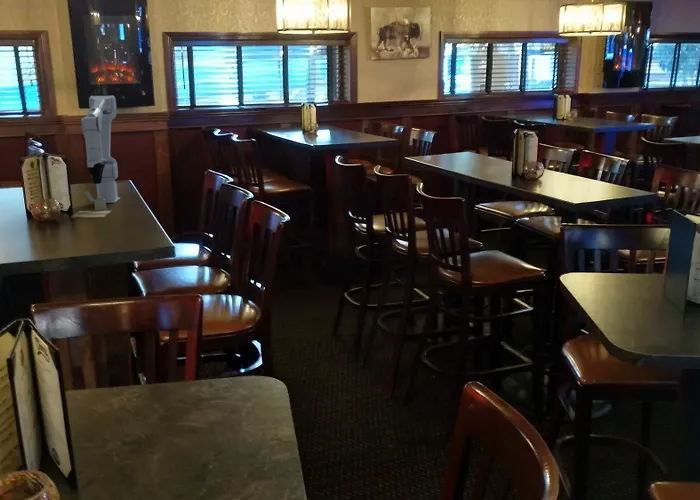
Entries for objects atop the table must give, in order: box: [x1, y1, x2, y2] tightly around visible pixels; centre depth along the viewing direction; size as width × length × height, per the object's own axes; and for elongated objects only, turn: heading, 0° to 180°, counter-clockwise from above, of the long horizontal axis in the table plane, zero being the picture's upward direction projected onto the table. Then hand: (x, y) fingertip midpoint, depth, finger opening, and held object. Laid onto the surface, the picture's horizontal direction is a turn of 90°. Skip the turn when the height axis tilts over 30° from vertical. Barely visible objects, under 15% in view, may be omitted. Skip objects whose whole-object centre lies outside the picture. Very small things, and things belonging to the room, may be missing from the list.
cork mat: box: [70, 209, 113, 219], centre depth 258 cm, size 11×12×1 cm
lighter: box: [84, 190, 108, 211], centre depth 264 cm, size 7×2×8 cm, turn 112°
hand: (97, 183), depth 267 cm, fingers closed
